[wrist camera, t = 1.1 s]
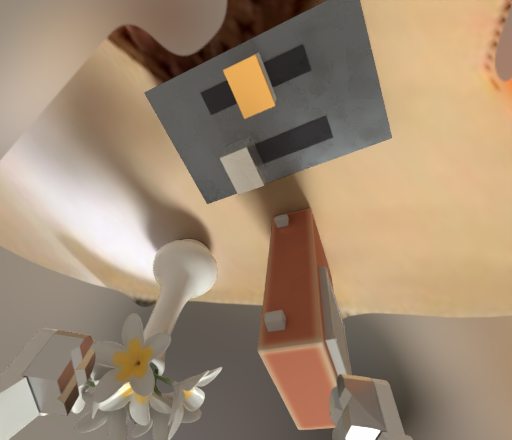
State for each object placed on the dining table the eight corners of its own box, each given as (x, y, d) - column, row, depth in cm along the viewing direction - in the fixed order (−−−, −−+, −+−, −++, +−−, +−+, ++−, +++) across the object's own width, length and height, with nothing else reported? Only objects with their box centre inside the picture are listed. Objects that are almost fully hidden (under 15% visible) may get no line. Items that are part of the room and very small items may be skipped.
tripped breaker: (259, 51, 30) (255, 54, 27) (277, 98, 32) (275, 105, 29) (229, 65, 31) (223, 70, 28) (248, 110, 33) (244, 119, 30)
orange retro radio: (294, 289, 51) (264, 210, 44) (339, 281, 49) (315, 197, 42) (294, 438, 33) (243, 342, 26) (365, 434, 31) (330, 329, 24)
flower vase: (118, 247, 50) (-12, 412, 29) (217, 201, 44) (144, 367, 23) (168, 303, 55) (89, 477, 34) (262, 268, 49) (238, 454, 28)
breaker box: (349, -11, 31) (364, -20, 24) (383, 127, 37) (402, 150, 30) (158, 86, 37) (128, 100, 30) (214, 189, 43) (199, 220, 37)
